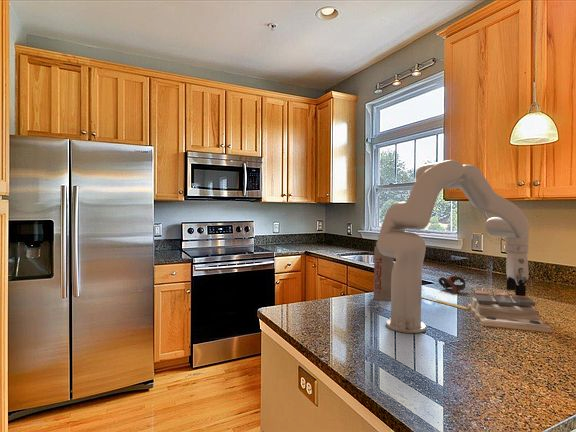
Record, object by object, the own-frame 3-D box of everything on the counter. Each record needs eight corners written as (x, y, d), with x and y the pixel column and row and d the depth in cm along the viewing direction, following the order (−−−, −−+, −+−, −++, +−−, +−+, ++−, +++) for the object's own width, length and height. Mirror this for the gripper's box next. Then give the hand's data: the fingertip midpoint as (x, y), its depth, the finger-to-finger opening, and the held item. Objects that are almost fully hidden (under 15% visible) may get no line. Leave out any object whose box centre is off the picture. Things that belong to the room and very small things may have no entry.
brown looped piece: (462, 290, 168) (468, 277, 163) (461, 302, 160) (466, 289, 156) (437, 281, 172) (441, 269, 168) (434, 293, 165) (439, 280, 161)
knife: (405, 290, 162) (399, 290, 160) (473, 307, 135) (466, 307, 132) (405, 293, 162) (398, 293, 160) (473, 310, 135) (466, 310, 132)
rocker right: (535, 306, 119) (535, 302, 119) (519, 304, 120) (519, 300, 120) (526, 299, 127) (526, 295, 126) (511, 298, 128) (512, 294, 128)
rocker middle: (513, 306, 121) (514, 302, 121) (498, 304, 122) (498, 301, 122) (506, 296, 128) (507, 292, 128) (492, 295, 130) (492, 291, 130)
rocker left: (493, 304, 123) (493, 300, 123) (478, 303, 124) (478, 299, 124) (487, 294, 130) (487, 291, 130) (473, 293, 132) (473, 290, 131)
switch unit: (551, 332, 109) (551, 315, 109) (481, 325, 115) (482, 309, 115) (525, 312, 130) (525, 298, 130) (467, 307, 136) (468, 294, 136)
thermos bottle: (380, 301, 143) (382, 235, 143) (369, 296, 151) (371, 234, 150) (396, 299, 146) (397, 235, 146) (384, 295, 154) (385, 233, 153)
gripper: (537, 252, 122) (536, 299, 122) (519, 246, 138) (518, 288, 139) (513, 251, 124) (512, 297, 124) (498, 246, 140) (497, 287, 141)
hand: (515, 292), depth 131 cm, fingers open, 9 cm apart
